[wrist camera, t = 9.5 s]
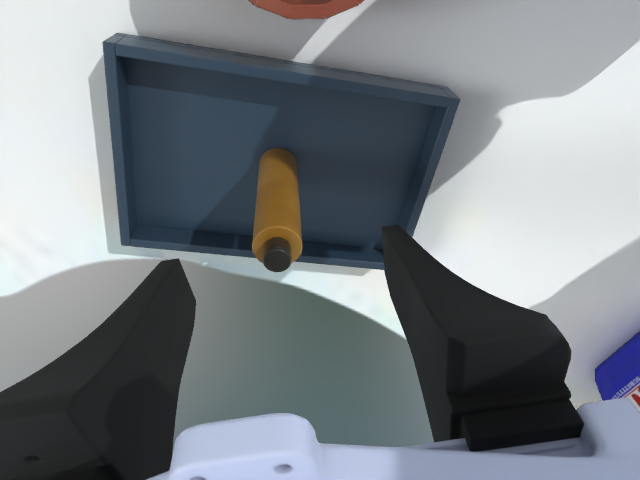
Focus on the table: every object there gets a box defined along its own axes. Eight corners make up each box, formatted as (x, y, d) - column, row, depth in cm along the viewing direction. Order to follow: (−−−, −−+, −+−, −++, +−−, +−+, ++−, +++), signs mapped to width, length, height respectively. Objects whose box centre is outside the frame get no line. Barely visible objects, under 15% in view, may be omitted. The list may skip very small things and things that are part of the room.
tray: (447, 87, 23) (460, 99, 21) (393, 252, 28) (400, 271, 27) (116, 32, 20) (101, 41, 19) (130, 225, 26) (120, 245, 24)
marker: (298, 149, 23) (305, 241, 17) (295, 182, 25) (301, 282, 18) (259, 146, 23) (251, 238, 16) (258, 180, 24) (250, 281, 17)
